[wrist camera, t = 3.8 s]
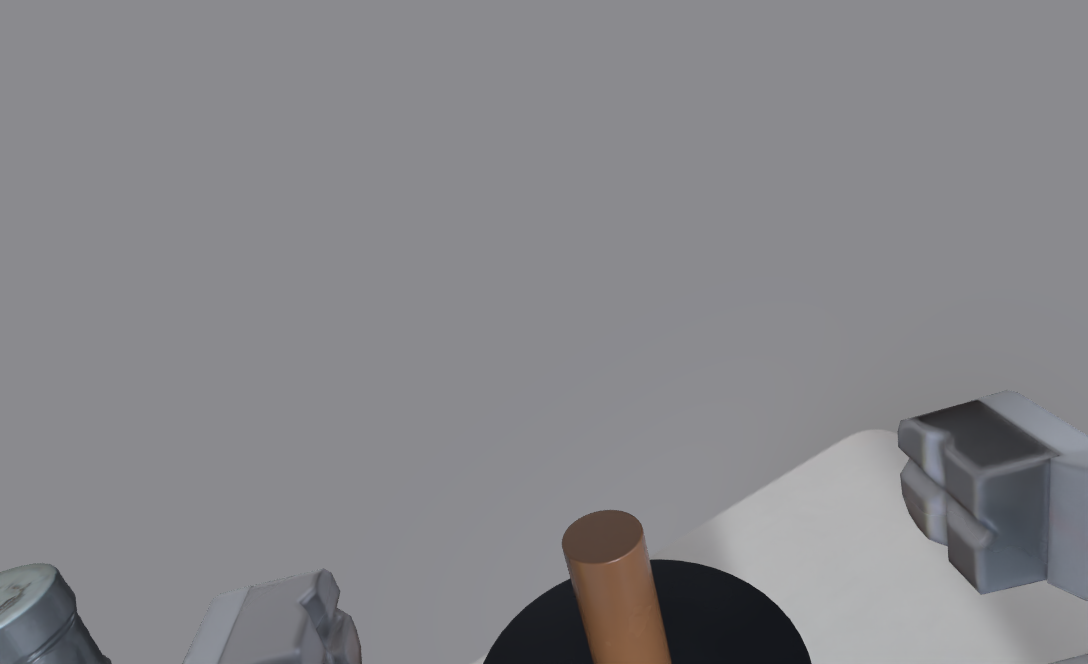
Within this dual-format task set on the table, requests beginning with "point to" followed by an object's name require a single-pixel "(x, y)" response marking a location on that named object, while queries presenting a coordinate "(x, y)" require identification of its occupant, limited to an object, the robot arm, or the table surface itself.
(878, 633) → the table surface
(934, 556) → the table surface
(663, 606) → the lid
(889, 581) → the table surface
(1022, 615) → the table surface
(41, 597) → the sauce bottle
